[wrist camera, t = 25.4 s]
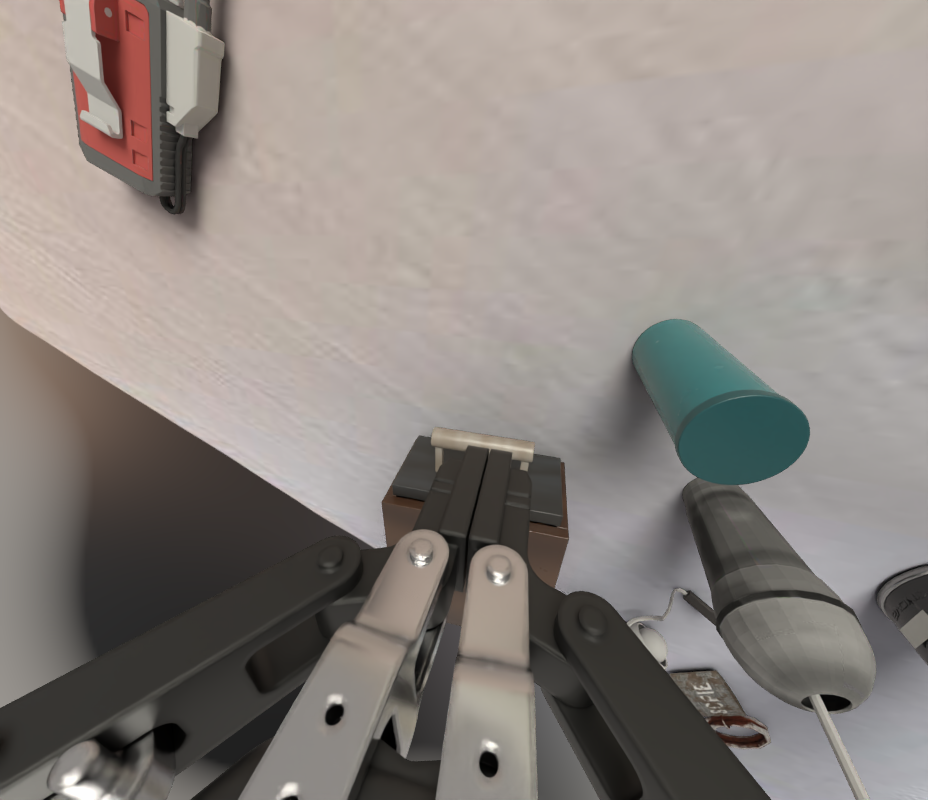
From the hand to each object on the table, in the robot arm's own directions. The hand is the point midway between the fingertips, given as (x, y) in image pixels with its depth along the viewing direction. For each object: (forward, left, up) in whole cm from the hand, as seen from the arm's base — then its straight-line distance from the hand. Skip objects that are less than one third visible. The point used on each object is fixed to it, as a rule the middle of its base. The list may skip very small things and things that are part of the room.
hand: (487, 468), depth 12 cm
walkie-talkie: (+25, -16, -18) cm, 35 cm away
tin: (-11, +2, -18) cm, 21 cm away
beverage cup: (-19, +15, -18) cm, 30 cm away
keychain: (-33, +51, -18) cm, 63 cm away
